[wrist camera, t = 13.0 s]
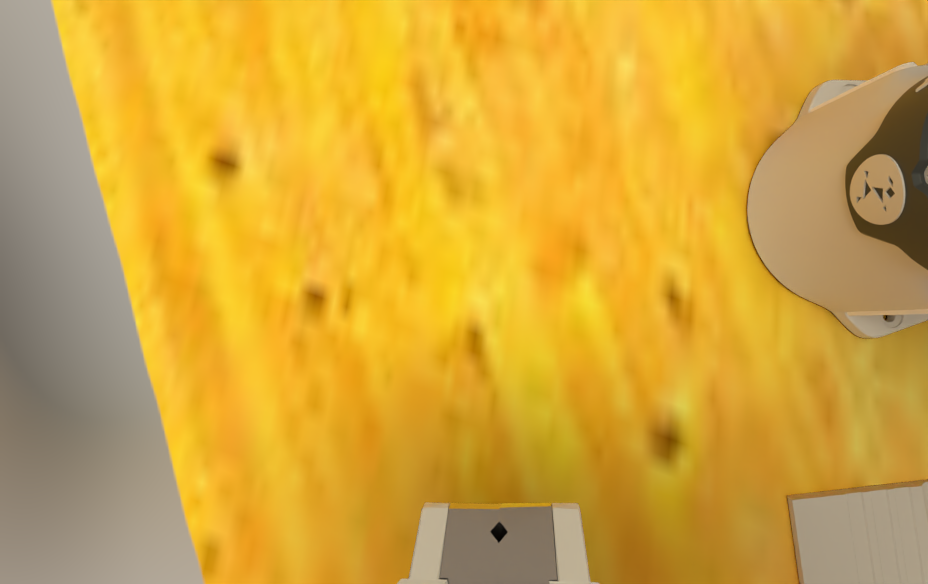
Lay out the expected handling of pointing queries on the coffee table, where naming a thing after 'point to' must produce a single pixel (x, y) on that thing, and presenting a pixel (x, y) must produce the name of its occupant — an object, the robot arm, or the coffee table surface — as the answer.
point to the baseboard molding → (862, 534)
